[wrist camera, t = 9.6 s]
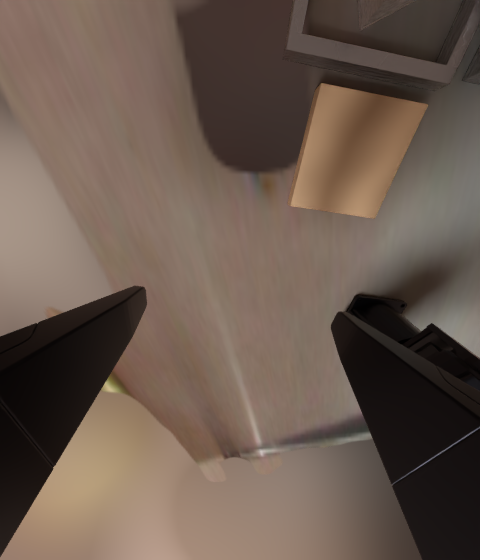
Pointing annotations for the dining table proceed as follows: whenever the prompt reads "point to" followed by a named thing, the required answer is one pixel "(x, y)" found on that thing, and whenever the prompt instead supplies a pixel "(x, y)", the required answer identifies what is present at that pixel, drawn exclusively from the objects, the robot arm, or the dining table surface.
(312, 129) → the stand
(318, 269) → the dining table surface
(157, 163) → the dining table surface
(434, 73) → the grey rectangular tray
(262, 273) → the dining table surface
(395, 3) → the block with dome knob
